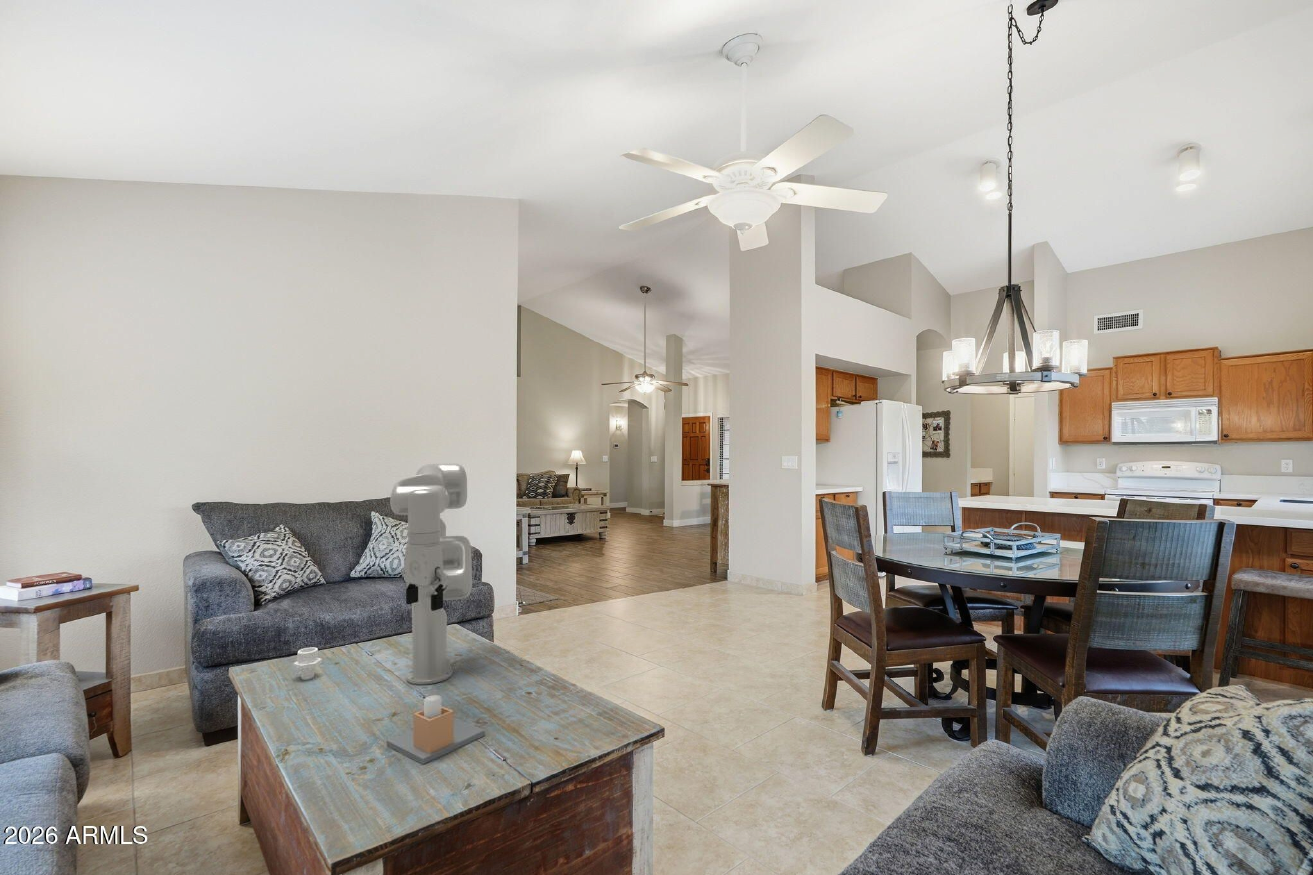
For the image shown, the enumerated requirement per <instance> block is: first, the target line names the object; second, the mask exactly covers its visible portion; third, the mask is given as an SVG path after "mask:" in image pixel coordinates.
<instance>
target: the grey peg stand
mask: <svg viewBox="0 0 1313 875" xmlns="http://www.w3.org/2000/svg"><path fill="white" fill-rule="evenodd" d="M441 706H442V696H441V695H439V694H435V695H428V696H426V697H424V699H423V710H424V717H426V718H428V719H432V718H435V717H437V716H440V715H441ZM485 730H486V729H484V728H481V727H478V726H477V725H473V724H471V723H469V722H466V721H464V720H461V719H460V718H457V717H456V716H455V717H454V743H452V744H450V745H447V746H445V747H443V748H441V749H439V750H436V751H434V752H432V753H430V754H429V753H427V752H425V751H423V750H421V749H419V748H417V747H415V746H414V728H412V729H410V730H408V731H405V732H404V733H401V734H399V735H397V736H394V737H391V738H389V739H387V740H386V747H388V748H390V749H392V750H394V751H396V752H398V753H400V754H402V755H404V756H406V757H408V758H410V759H411V760H413V761H415V762H417V763H419V764H421V765H425V764H428V763H429V762H431V761H433V760H435V759H437V758H439V757H442V756H444V755H446V754H448V753H450V752H452V751H454V750H457V749H458V748H461V747H463V746H465V745H467V744H470V743H472V742H474V741H476V740H478V739H480V738H482V737H484V736H485V735H486V731H485Z"/></svg>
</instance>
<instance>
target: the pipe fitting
mask: <svg viewBox="0 0 1313 875" xmlns="http://www.w3.org/2000/svg"><path fill="white" fill-rule="evenodd" d="M318 654H319V648H317V647H314V646H313V647H311V646H310V647H305V648H300V649H299V650H298V651H297V659H296V660H297V661H295V662H293V668H296V669H300V671H301V673H300V677H301V680H304V681H306V680H311V679H313V678H314V677H315V667H317V666H318V665H321V663H322V660H323V659H322V658H320V657H318V656H319V655H318Z"/></svg>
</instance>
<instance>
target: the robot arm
mask: <svg viewBox="0 0 1313 875" xmlns="http://www.w3.org/2000/svg"><path fill="white" fill-rule="evenodd" d="M467 500H468V478H467V472H466V470H465V468H464V467H463V466H462V465H461V464H459V463H430V464H425V465H422V466H421V467H419V469H418V470H417V472H416V474H415V475H413V476H410V477H406V478H402V479H400V480H398V481H396V482H395V484H394V486H393V487H392V490H391V493H390V498H389V504H390V508H391V511H392V512H393V513H394V514H396V515H398V516H407V543H406V546H405V552H404V561H403V567H402V568H400V569H401V570H400V573H401V576H402V581H403V583H404V589H405V603H406V605H411V617H412V620H411V622H412V623H411V625H412V627H411V628H412V630H411V631H412V632H411V633H412V635H411V636H412V639H411V644H412V647H411V649H412V650H411V651H412V652H411V655H412V656H411V657H412V658H411V659H412V664H411V665H412V667H411V668H412V670H411V671H409V672H408V673H407V675H406V681H407V683H409V684H413V685H431V684H435V683H437V684H438V683H440V682H444V681H447V680H448V679H449V678H451V677H452V675H453V669H452V666H453V664H458V663H461V661H462V657H461V656H460V655H457V656H454V657H452V656H451V655H450V656H448V627H447V626H448V623H447V622H448V615H447V612H446V610H445V609H444V601H448V600H449V601H450V600H461V599H465V598H467V597H469V596H470V594H471V593H472V588H473V587H472V586H473V569H472V568H473V567H472V564H473V561H472V547H471V542H470V540H469V538H468V537H467V536H463V535H447V526H446V523H445V521H444V520H443V519H442V518H441V514H442V513H444V512H445V511H446V510H455V509H461V508H463V507H465V505H466V504H467V502H468V501H467Z"/></svg>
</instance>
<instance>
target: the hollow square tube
mask: <svg viewBox="0 0 1313 875" xmlns="http://www.w3.org/2000/svg"><path fill="white" fill-rule="evenodd" d="M454 712H455V711H454V710H452V709H450V708H447V707H445V706H443V705H441V715H440V716H437V717H435V718H432V719H428V718H426V717H424V709H421V710H419V711H417V712H415V713H413V729H414V746H415V747H417V748H419V749H421V750H423V751H425V752H427V753H429V754H430V753H432V752H434V751H436V750H439V749H441V748H443V747H445V746H447V745H450V744H452V743H454Z"/></svg>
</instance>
